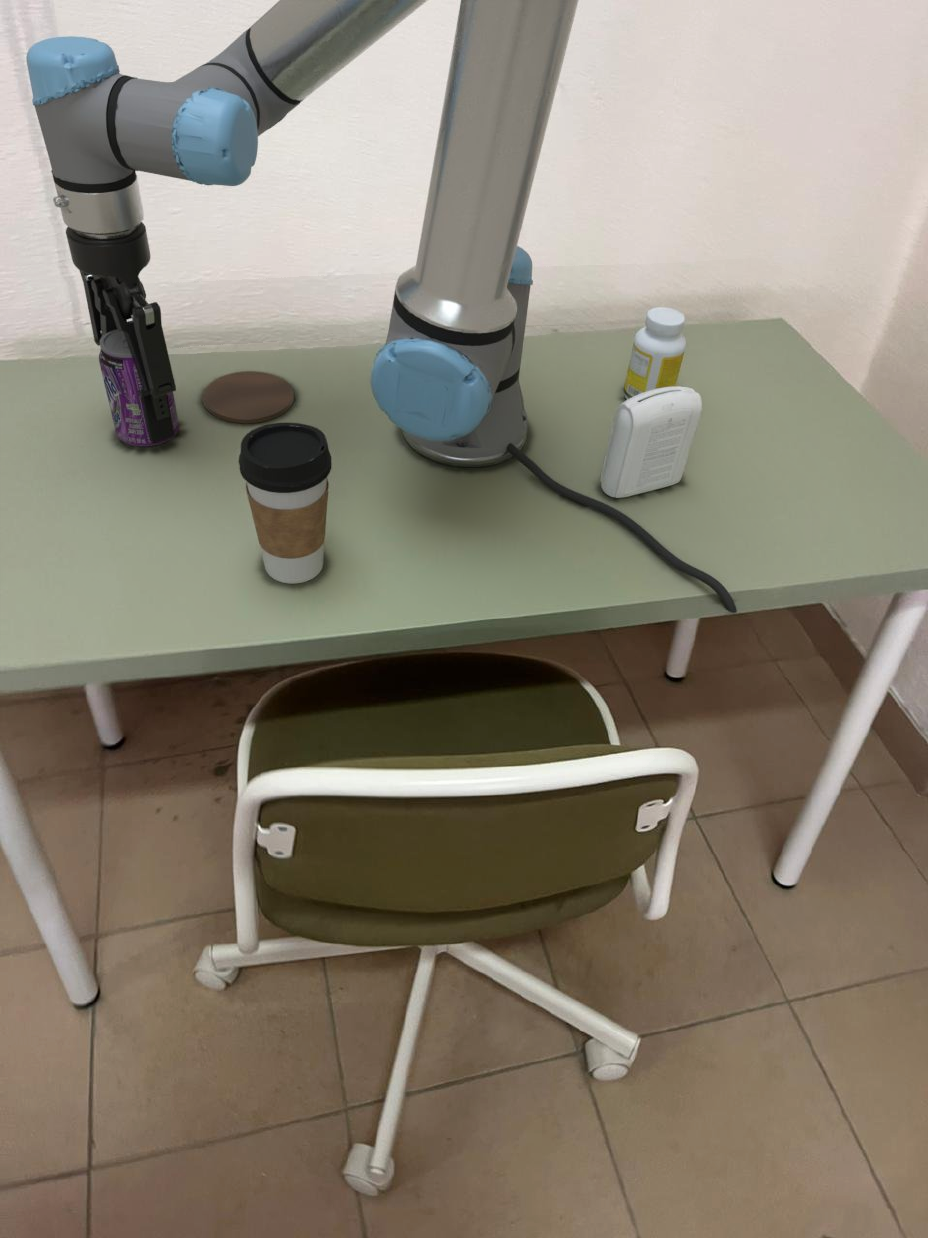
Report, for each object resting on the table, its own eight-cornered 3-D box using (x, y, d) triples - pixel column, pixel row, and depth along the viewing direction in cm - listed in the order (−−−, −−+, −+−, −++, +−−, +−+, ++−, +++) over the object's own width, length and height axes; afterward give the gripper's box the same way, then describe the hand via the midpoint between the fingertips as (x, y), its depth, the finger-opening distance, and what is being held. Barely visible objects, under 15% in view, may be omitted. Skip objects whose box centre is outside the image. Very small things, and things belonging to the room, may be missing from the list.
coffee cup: (321, 599, 90) (314, 476, 79) (239, 583, 90) (221, 459, 80) (346, 545, 95) (342, 424, 85) (268, 531, 96) (256, 408, 86)
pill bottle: (678, 396, 121) (701, 314, 113) (659, 417, 117) (680, 334, 109) (634, 379, 123) (653, 298, 115) (614, 399, 119) (631, 317, 111)
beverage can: (122, 416, 109) (101, 323, 100) (183, 417, 110) (167, 324, 101) (111, 451, 104) (88, 356, 95) (175, 451, 105) (158, 357, 96)
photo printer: (664, 463, 110) (690, 372, 101) (685, 484, 107) (713, 392, 99) (593, 482, 106) (613, 389, 97) (613, 504, 104) (635, 410, 95)
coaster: (310, 404, 114) (310, 400, 113) (233, 433, 108) (232, 429, 108) (263, 366, 119) (262, 362, 119) (187, 392, 114) (186, 387, 113)
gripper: (25, 196, 93) (77, 394, 109) (115, 271, 83) (158, 476, 99) (95, 182, 96) (136, 375, 113) (190, 252, 86) (219, 453, 103)
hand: (146, 422), depth 106 cm, fingers closed on beverage can, 7 cm apart
